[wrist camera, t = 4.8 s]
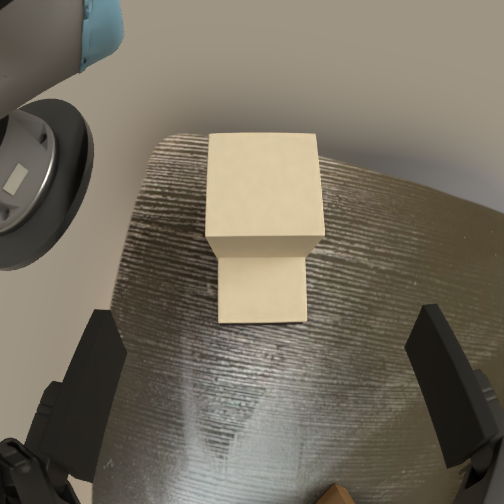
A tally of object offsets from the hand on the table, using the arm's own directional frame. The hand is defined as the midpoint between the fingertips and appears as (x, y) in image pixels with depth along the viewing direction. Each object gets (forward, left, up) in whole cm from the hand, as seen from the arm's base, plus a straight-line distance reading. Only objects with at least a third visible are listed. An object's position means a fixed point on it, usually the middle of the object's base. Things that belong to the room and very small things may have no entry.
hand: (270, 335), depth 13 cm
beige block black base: (-2, +5, -12) cm, 14 cm away
